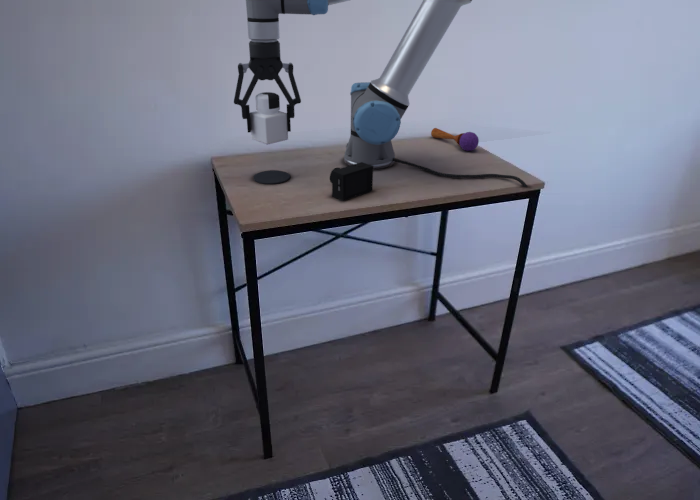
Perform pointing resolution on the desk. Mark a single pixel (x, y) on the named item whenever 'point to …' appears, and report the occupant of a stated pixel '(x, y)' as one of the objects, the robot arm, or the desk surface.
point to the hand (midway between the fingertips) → (269, 130)
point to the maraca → (459, 138)
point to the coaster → (271, 177)
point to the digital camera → (351, 181)
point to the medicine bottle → (268, 120)
